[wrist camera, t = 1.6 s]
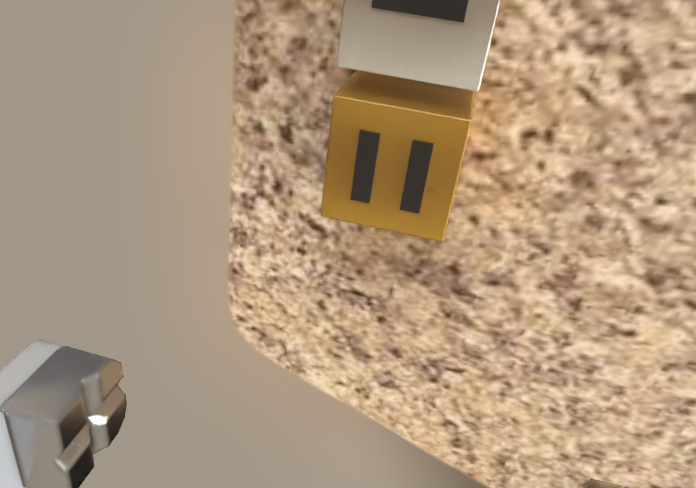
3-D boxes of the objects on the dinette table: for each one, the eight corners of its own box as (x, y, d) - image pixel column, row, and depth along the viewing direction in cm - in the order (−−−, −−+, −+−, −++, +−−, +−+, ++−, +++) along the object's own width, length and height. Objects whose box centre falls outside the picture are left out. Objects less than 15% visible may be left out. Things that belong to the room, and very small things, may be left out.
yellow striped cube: (450, 192, 25) (442, 244, 21) (345, 171, 25) (319, 218, 21) (475, 85, 22) (472, 121, 18) (359, 65, 23) (332, 95, 19)
